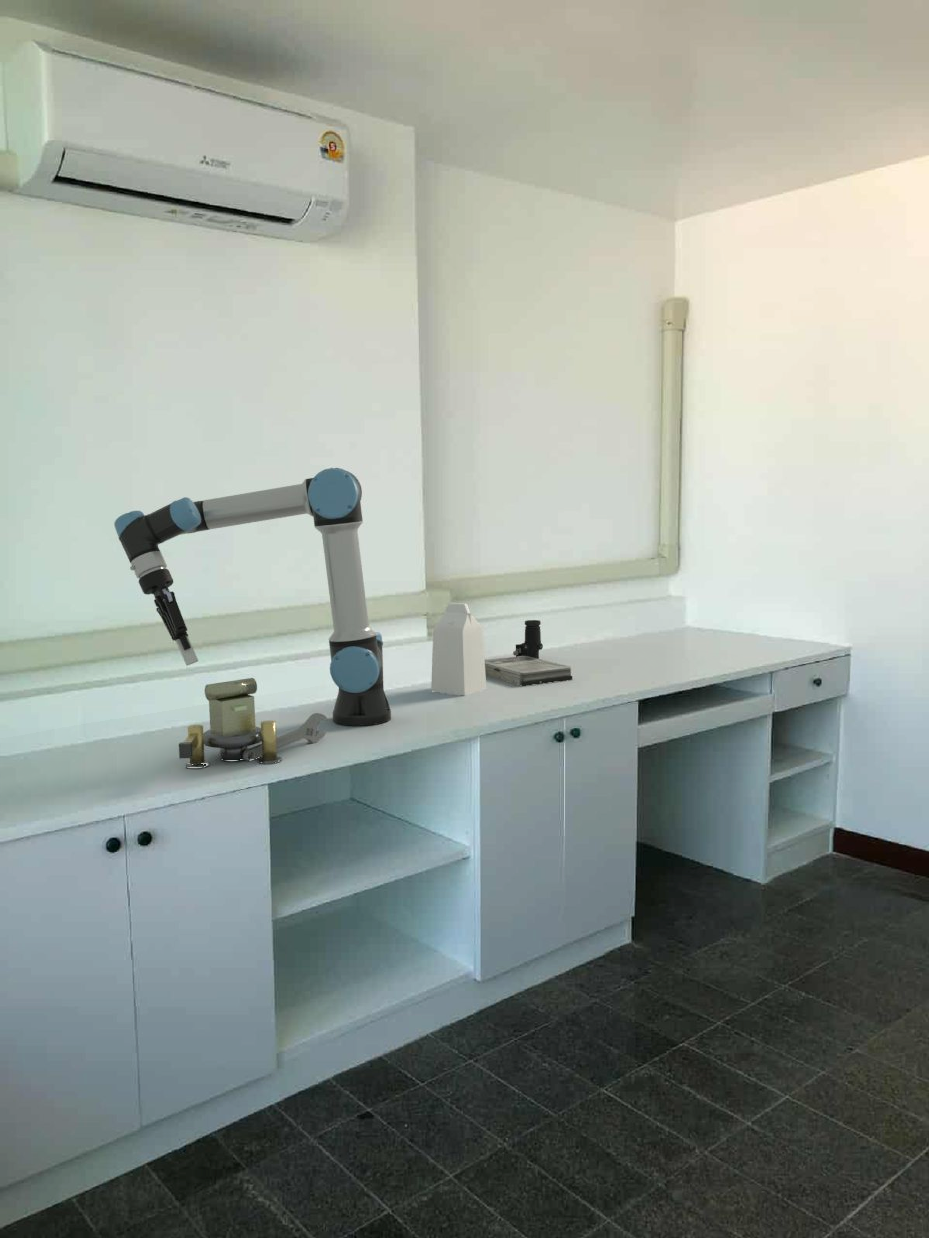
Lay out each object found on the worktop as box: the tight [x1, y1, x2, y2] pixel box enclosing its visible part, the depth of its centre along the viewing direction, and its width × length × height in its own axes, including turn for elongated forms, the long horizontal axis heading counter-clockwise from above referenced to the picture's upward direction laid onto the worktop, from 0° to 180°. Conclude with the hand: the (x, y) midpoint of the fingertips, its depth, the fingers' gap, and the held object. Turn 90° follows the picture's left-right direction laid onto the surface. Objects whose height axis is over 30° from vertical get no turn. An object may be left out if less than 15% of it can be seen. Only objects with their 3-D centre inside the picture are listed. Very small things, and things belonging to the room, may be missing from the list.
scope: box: [512, 619, 544, 659], centre depth 350 cm, size 8×14×10 cm
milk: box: [430, 602, 487, 696], centre depth 299 cm, size 12×12×26 cm
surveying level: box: [184, 677, 283, 767], centre depth 225 cm, size 19×21×18 cm
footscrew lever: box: [178, 724, 206, 764], centre depth 216 cm, size 14×3×8 cm, turn 5°
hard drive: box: [484, 656, 573, 687], centre depth 321 cm, size 18×27×4 cm
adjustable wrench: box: [243, 712, 328, 761], centre depth 234 cm, size 25×6×2 cm
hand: (192, 663), depth 241 cm, fingers closed
